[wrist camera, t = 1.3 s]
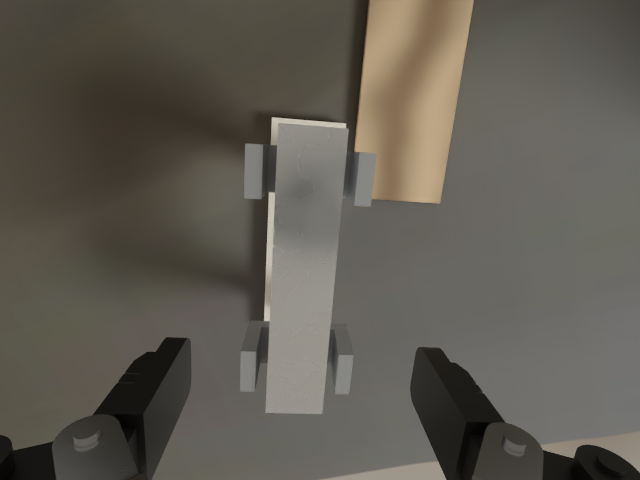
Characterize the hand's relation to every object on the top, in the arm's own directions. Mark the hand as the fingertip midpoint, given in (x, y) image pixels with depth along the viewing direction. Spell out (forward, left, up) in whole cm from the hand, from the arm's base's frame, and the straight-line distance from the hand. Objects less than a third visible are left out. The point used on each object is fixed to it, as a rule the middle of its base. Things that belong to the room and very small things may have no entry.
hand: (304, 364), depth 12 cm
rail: (0, 0, -11) cm, 11 cm away
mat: (-8, -13, -20) cm, 25 cm away
